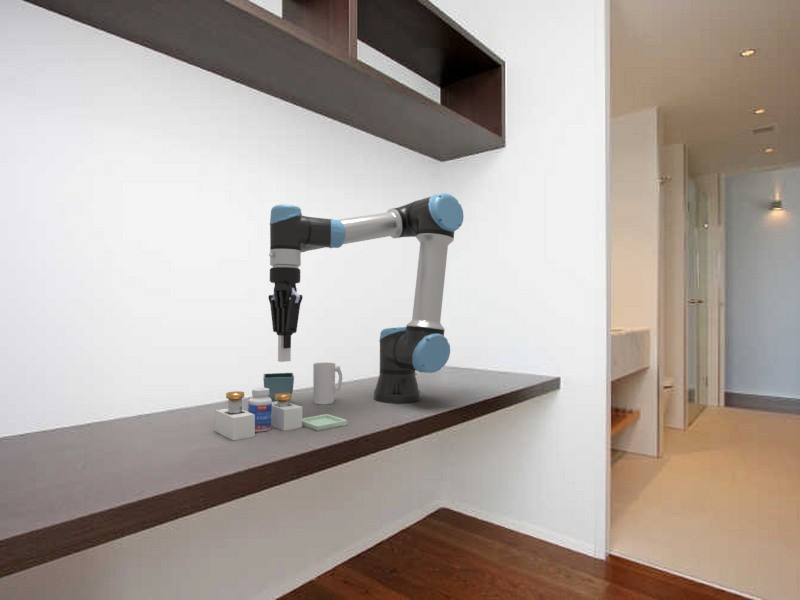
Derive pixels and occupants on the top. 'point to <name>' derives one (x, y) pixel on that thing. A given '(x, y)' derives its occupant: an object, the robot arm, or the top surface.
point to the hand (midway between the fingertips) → (284, 361)
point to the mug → (325, 382)
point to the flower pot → (278, 384)
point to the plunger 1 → (234, 402)
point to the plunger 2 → (283, 399)
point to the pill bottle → (261, 408)
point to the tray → (323, 422)
